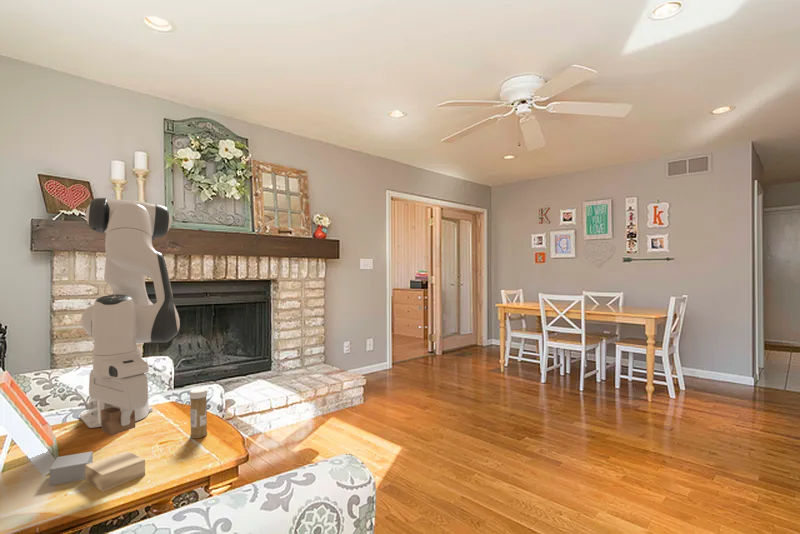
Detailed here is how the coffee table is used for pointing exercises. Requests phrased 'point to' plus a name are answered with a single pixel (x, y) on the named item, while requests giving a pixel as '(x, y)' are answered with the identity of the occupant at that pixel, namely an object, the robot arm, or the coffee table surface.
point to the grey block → (69, 468)
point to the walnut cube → (115, 420)
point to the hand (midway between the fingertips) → (117, 422)
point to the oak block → (114, 470)
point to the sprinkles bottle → (198, 413)
